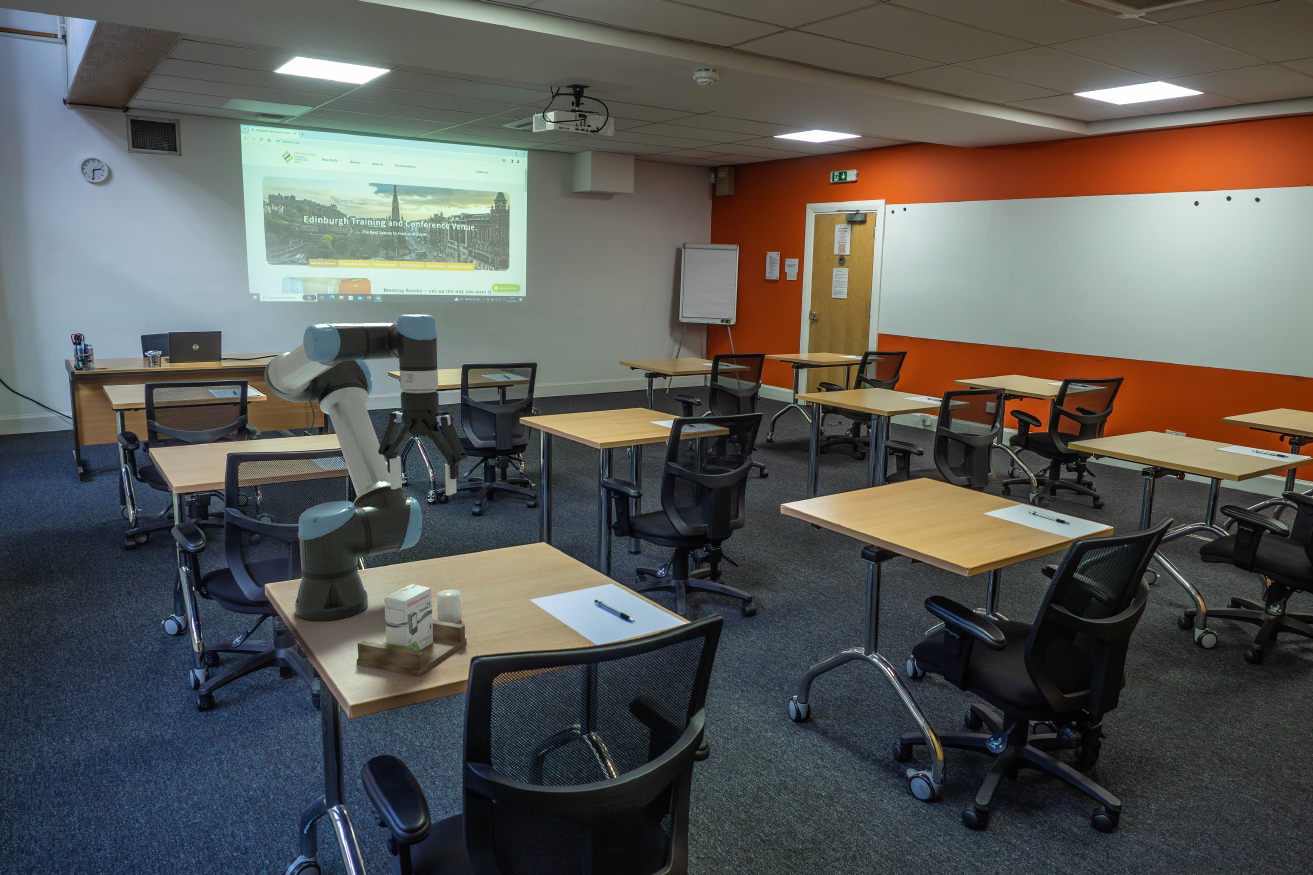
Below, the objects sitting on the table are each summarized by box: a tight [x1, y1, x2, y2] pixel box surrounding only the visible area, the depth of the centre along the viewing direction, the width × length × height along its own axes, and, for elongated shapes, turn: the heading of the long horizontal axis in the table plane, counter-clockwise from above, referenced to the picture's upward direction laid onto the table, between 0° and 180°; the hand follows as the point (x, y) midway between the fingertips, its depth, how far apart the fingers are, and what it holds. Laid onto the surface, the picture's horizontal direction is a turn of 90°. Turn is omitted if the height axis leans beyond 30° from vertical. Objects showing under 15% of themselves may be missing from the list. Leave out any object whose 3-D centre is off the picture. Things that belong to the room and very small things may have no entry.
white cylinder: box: [436, 589, 463, 624], centre depth 181 cm, size 5×5×6 cm
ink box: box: [383, 583, 433, 651], centre depth 164 cm, size 9×5×12 cm, turn 158°
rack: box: [356, 619, 468, 677], centre depth 165 cm, size 14×16×4 cm
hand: (423, 491), depth 176 cm, fingers open, 13 cm apart
